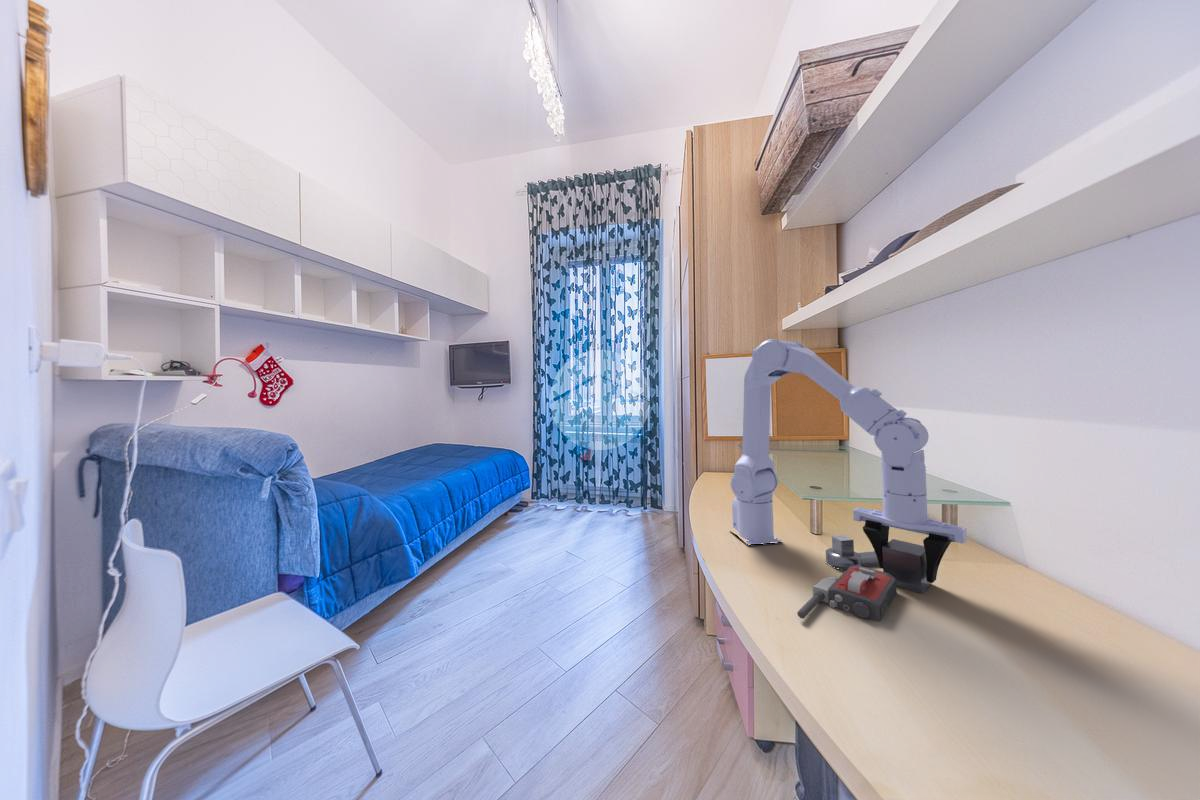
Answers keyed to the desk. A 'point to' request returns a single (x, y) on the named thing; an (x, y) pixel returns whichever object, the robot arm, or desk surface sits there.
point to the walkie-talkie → (855, 592)
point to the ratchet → (848, 554)
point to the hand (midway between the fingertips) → (906, 573)
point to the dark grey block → (906, 565)
